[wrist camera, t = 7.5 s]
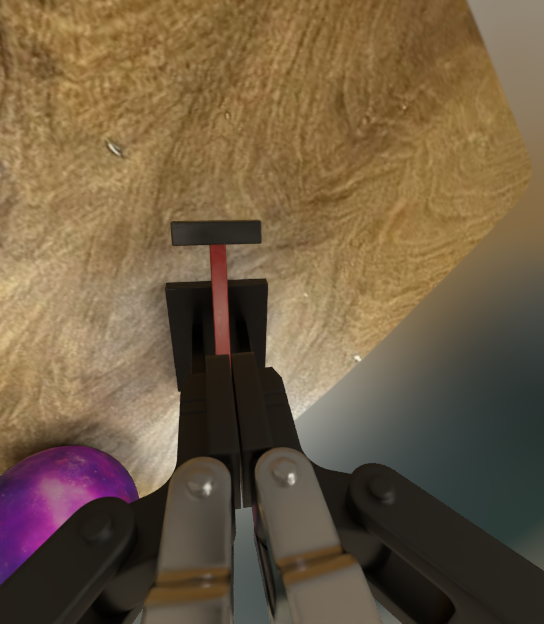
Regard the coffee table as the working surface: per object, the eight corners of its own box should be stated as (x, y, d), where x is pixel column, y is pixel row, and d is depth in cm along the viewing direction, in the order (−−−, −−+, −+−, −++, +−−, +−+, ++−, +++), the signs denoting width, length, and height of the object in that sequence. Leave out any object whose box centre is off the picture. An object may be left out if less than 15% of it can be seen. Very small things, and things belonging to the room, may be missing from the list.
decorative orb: (-20, 425, 38) (-126, 596, 25) (134, 406, 40) (105, 555, 28) (31, 509, 46) (-31, 671, 33) (157, 489, 48) (143, 635, 35)
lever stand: (166, 282, 33) (154, 359, 24) (266, 278, 35) (290, 348, 26) (178, 384, 39) (173, 474, 30) (262, 376, 41) (281, 461, 32)
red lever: (172, 220, 26) (169, 222, 24) (257, 219, 27) (262, 220, 25) (188, 411, 31) (187, 428, 28) (260, 404, 32) (265, 419, 29)
